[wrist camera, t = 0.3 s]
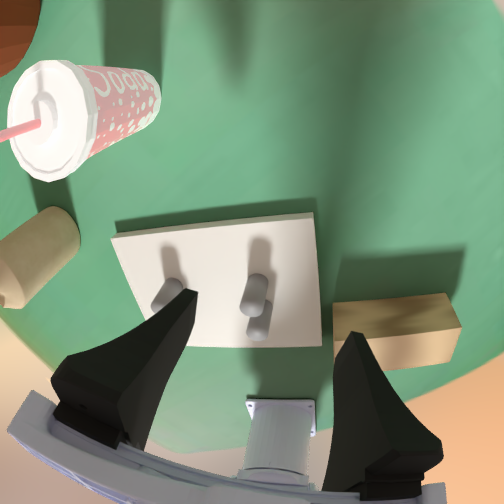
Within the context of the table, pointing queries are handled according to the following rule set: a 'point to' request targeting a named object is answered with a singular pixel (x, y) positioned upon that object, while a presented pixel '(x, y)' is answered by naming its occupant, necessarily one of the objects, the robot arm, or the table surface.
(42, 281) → the candle
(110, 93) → the beverage cup
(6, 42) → the potted plant
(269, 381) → the table surface
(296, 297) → the peg base
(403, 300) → the tan rectangular block
